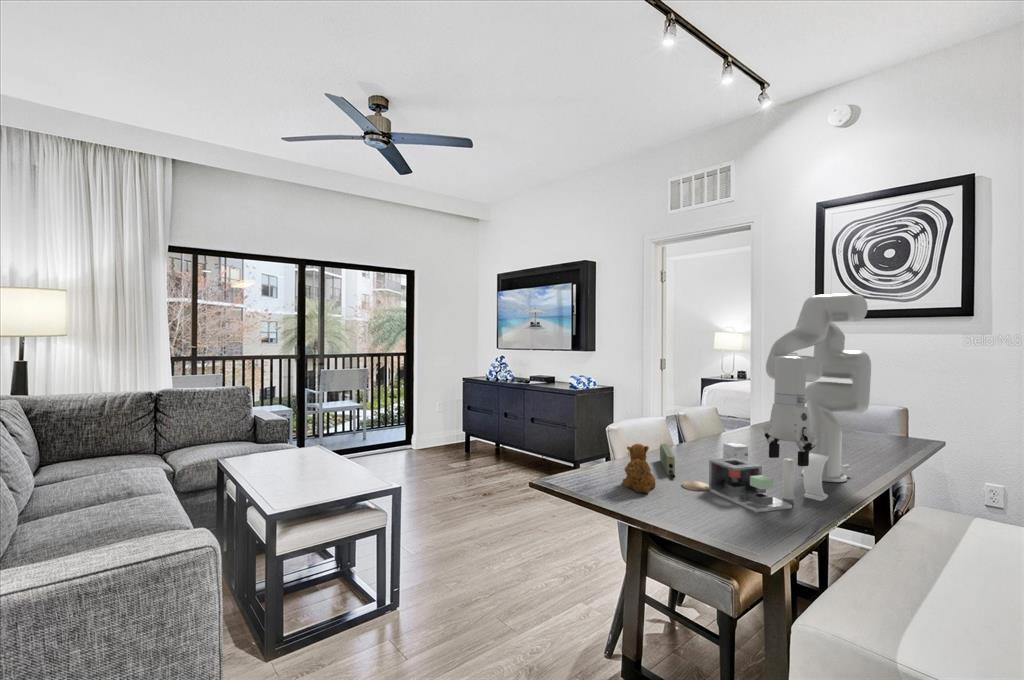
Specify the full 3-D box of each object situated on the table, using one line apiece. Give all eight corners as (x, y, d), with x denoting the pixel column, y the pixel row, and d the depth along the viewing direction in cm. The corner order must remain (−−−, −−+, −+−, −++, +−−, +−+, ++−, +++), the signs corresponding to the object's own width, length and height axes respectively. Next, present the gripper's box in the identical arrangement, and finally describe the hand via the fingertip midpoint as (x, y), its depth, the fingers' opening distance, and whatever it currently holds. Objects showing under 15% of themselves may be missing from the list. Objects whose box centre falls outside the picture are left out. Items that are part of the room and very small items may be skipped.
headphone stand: (827, 497, 141) (828, 456, 141) (820, 502, 138) (821, 459, 137) (810, 493, 145) (810, 453, 145) (802, 497, 141) (803, 456, 141)
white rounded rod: (788, 500, 139) (788, 458, 139) (796, 503, 136) (797, 460, 136) (780, 501, 138) (780, 458, 138) (788, 504, 135) (789, 461, 135)
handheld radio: (669, 461, 182) (678, 480, 157) (659, 461, 182) (668, 480, 158) (668, 443, 182) (678, 460, 157) (659, 443, 182) (667, 460, 158)
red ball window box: (737, 486, 151) (737, 456, 151) (791, 508, 132) (792, 474, 132) (705, 489, 148) (705, 459, 148) (756, 512, 129) (756, 478, 129)
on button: (761, 489, 137) (761, 475, 137) (772, 493, 133) (773, 479, 133) (749, 490, 136) (750, 476, 136) (761, 495, 132) (761, 480, 132)
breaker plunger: (735, 479, 146) (735, 464, 146) (743, 482, 143) (743, 467, 143) (725, 480, 145) (726, 465, 145) (734, 483, 142) (734, 468, 142)
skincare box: (733, 467, 173) (733, 446, 173) (722, 463, 179) (722, 443, 179) (748, 466, 175) (748, 446, 174) (736, 462, 180) (737, 442, 180)
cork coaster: (698, 481, 155) (698, 480, 155) (715, 489, 148) (715, 487, 148) (676, 484, 153) (676, 482, 153) (693, 491, 145) (693, 489, 145)
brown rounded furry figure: (654, 483, 154) (655, 441, 154) (658, 497, 140) (659, 452, 140) (622, 481, 156) (622, 439, 156) (622, 495, 142) (623, 450, 142)
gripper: (828, 404, 129) (826, 468, 129) (775, 396, 146) (773, 454, 146) (806, 404, 127) (804, 470, 127) (754, 397, 144) (753, 455, 144)
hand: (788, 461), depth 136 cm, fingers open, 9 cm apart
